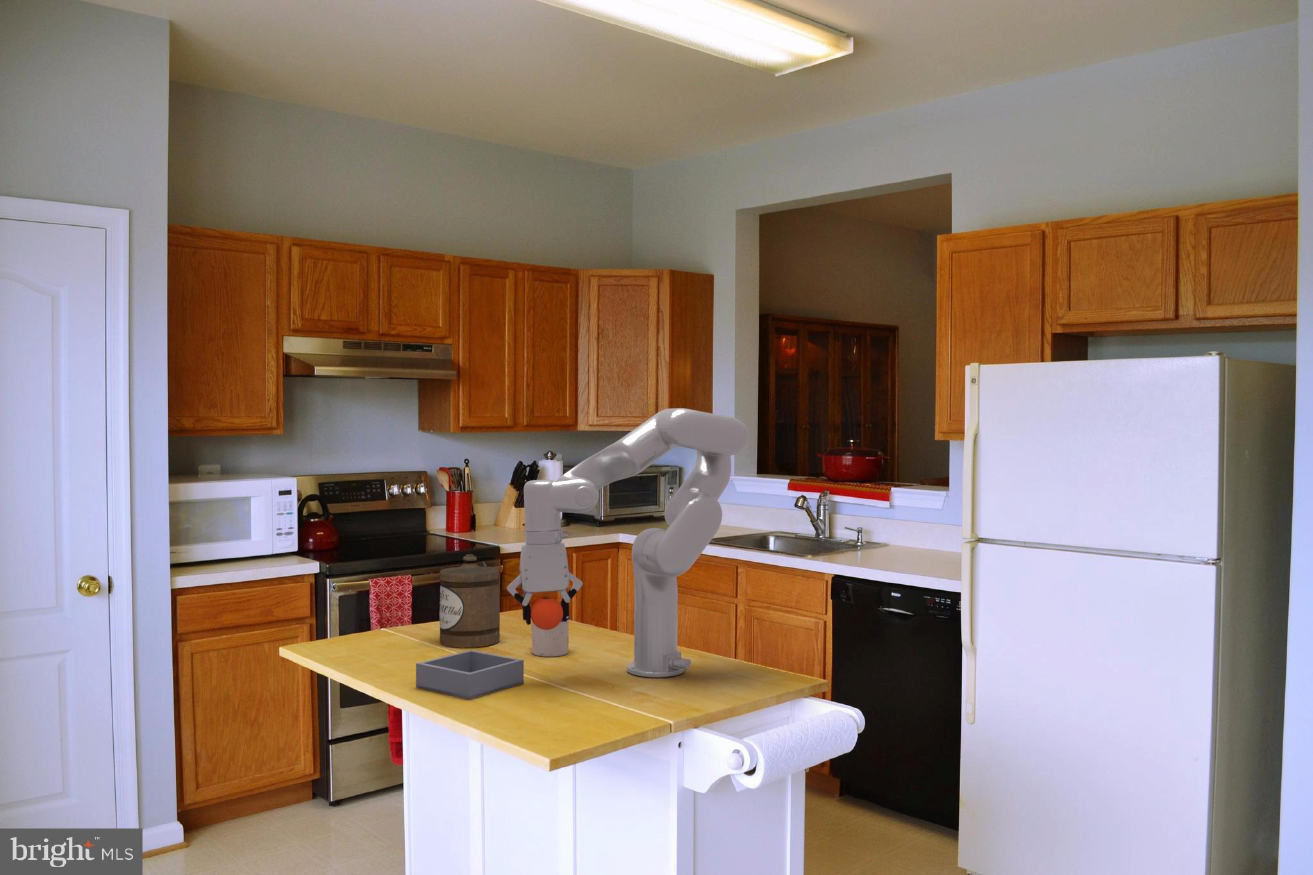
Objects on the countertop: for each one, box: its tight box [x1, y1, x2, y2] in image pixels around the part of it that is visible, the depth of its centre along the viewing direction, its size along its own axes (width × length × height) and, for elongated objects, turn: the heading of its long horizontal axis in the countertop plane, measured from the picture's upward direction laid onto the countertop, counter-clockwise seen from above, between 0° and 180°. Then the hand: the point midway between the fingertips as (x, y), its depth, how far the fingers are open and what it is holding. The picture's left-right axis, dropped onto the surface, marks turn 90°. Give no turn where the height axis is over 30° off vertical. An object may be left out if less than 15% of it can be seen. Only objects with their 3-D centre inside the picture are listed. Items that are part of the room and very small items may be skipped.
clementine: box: [530, 595, 563, 630], centre depth 211 cm, size 8×7×7 cm
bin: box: [415, 649, 525, 700], centre depth 208 cm, size 16×16×5 cm
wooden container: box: [439, 553, 501, 649], centre depth 250 cm, size 15×15×22 cm
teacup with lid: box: [530, 616, 570, 658], centre depth 239 cm, size 12×9×12 cm
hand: (546, 621), depth 211 cm, fingers closed on clementine, 7 cm apart
